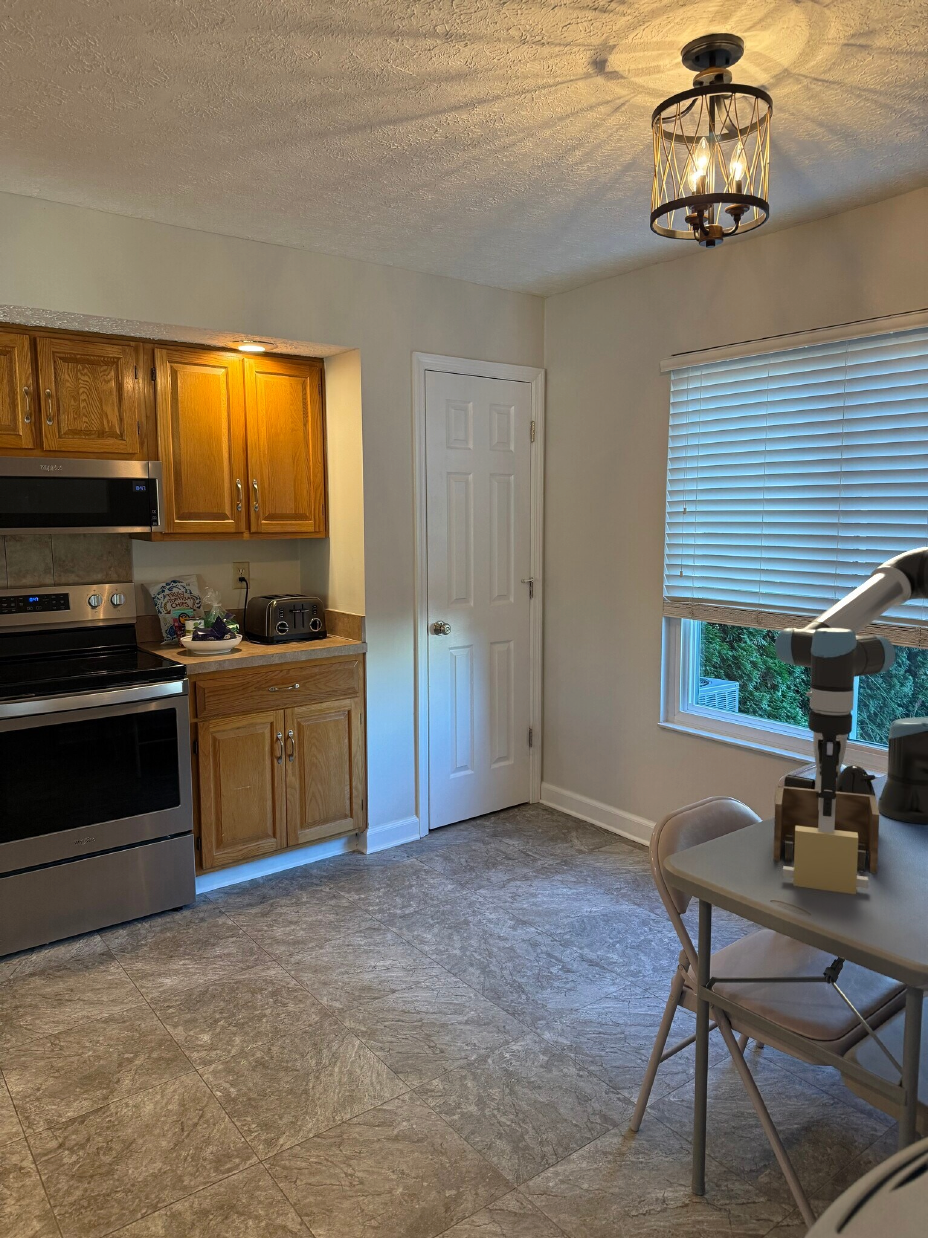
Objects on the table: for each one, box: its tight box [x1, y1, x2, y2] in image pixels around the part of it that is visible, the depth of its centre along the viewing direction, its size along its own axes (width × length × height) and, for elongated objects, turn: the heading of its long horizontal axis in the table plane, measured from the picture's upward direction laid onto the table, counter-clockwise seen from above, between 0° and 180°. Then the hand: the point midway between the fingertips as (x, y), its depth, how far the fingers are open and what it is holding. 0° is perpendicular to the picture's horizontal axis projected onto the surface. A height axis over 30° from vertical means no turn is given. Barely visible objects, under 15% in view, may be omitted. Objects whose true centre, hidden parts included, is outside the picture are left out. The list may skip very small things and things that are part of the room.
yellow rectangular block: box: [782, 826, 869, 895], centre depth 164 cm, size 15×3×11 cm, turn 68°
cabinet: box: [773, 785, 880, 874], centre depth 180 cm, size 19×13×12 cm
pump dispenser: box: [836, 764, 878, 802], centre depth 194 cm, size 10×10×15 cm
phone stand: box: [783, 774, 815, 789], centre depth 196 cm, size 9×6×12 cm, turn 140°
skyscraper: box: [812, 732, 848, 790], centre depth 204 cm, size 8×8×28 cm
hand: (825, 821), depth 163 cm, fingers open, 13 cm apart
